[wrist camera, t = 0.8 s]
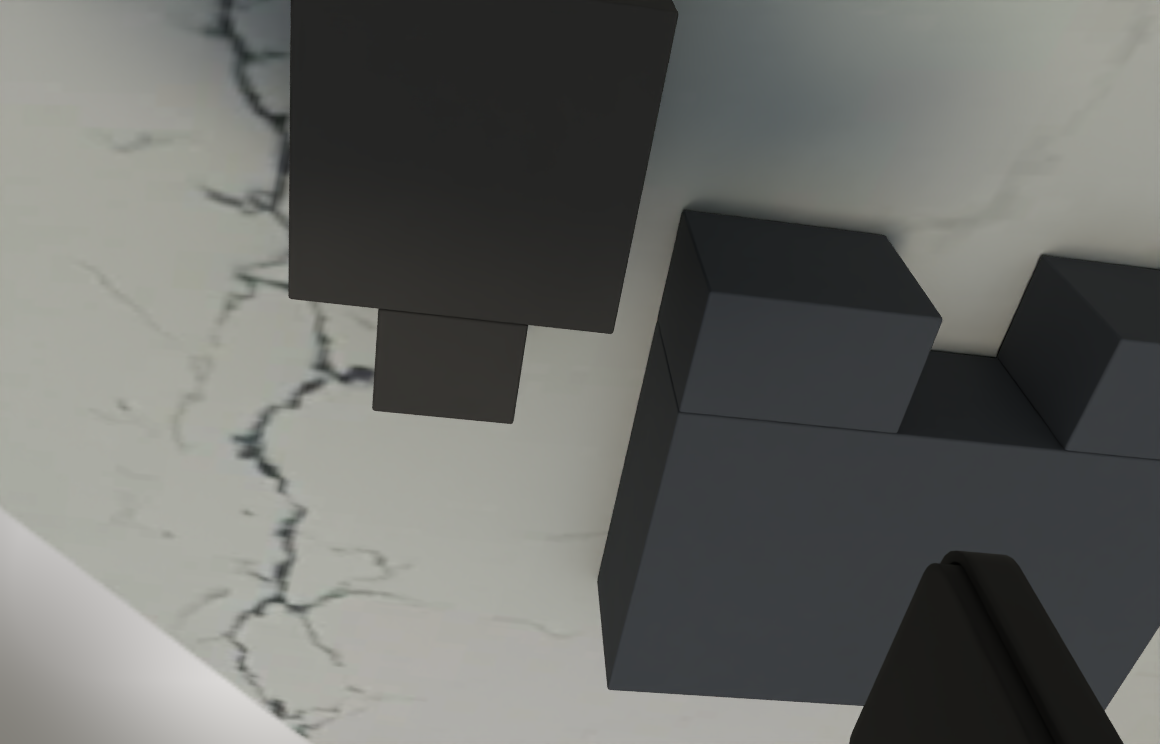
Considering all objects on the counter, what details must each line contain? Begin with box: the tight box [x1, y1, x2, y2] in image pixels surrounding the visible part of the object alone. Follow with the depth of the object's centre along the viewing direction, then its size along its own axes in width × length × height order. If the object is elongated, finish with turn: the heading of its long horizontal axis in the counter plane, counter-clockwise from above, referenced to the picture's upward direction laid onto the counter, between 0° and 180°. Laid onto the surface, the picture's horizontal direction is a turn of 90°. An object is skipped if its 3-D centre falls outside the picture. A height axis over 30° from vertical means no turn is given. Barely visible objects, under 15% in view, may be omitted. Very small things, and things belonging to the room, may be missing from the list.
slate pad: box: [597, 210, 1160, 710], centre depth 27 cm, size 12×14×4 cm
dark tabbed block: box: [289, 0, 678, 424], centre depth 21 cm, size 9×6×4 cm
